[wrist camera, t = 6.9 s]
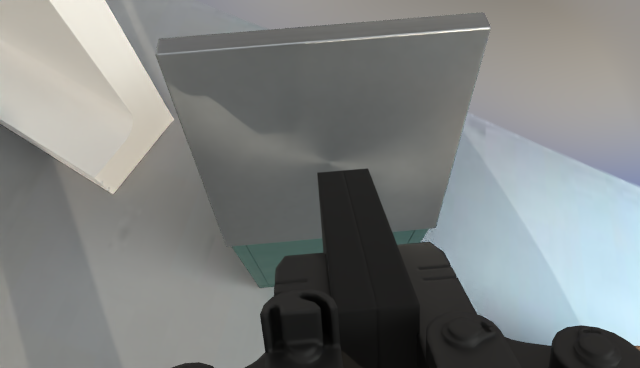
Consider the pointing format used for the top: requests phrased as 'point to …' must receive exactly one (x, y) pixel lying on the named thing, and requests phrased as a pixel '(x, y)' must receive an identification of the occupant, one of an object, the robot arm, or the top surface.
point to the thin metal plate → (324, 117)
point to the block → (77, 87)
